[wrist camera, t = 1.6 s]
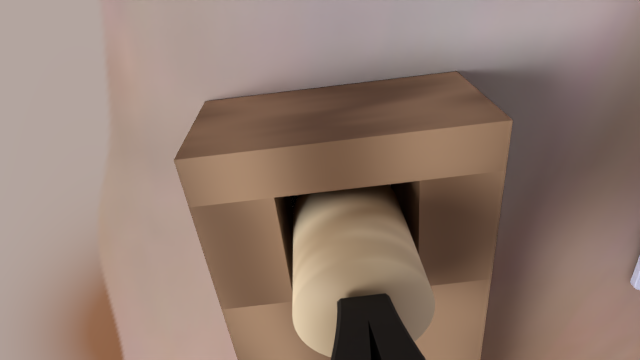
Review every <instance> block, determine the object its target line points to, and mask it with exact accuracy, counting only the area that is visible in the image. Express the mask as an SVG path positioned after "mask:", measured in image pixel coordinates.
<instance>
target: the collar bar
mask: <svg viewBox="0 0 640 360" xmlns="http://www.w3.org/2000/svg"><path fill="white" fill-rule="evenodd" d="M512 123H513V120H512V119H511V118H510V117H509V116H508V115H506V114H505V113H504V112H503V111H502V110H501V109H499V108H498V107H497V106H496V105H495V104H494V103H493V102H491V101H490V100H489V99H488V98H487V97H486V96H485V95H483V94H482V93H481V92H480V91H479V90H478V89H476V88H475V87H474V86H473V85H472V84H471V83H470V82H468V81H467V80H466V79H465V78H464V77H463V76H462V75H460V74H459V73H458V72H457V71H455V72H447V73H439V74H430V75H422V76H413V77H405V78H397V79H388V80H380V81H372V82H363V83H355V84H347V85H338V86H330V87H321V88H313V89H305V90H296V91H288V92H280V93H271V94H263V95H255V96H246V97H238V98H229V99H221V100H213V101H205V103H204V105H203V106H202V108H201V110H200V112H199V114H198V116H197V118H196V120H195V121H194V123H193V125H192V127H191V129H190V131H189V133H188V134H187V136H186V138H185V140H184V142H183V144H182V146H181V148H180V149H179V151H178V153H177V155H176V157H175V159H174V162H175V165H176V169H177V172H178V175H179V178H180V181H181V184H182V187H183V190H184V193H185V197H186V200H187V203H188V206H189V209H190V212H191V215H192V218H193V222H194V225H195V228H196V231H197V234H198V237H199V240H200V243H201V247H202V250H203V253H204V256H205V259H206V262H207V265H208V268H209V271H210V275H211V278H212V281H213V284H214V287H215V290H216V293H217V296H218V300H219V303H220V306H221V309H222V312H223V315H224V318H225V321H226V324H227V328H228V331H229V334H230V337H231V340H232V343H233V346H234V349H235V353H236V356H237V359H238V360H331V357H328V356H325V355H323V354H321V353H318V352H317V351H315V350H313V349H312V348H310V347H309V346H308V345H306V344H305V343H304V342H303V341H302V340H301V338H300V337H299V335H298V334H297V332H296V330H295V327H294V324H293V317H292V303H293V210H292V204H291V198H290V196H292V195H301V194H309V193H318V192H327V191H335V190H344V189H352V188H361V187H370V186H378V185H387V184H391V188H392V189H393V191H394V193H395V195H396V197H397V199H398V202H399V205H400V207H401V210H402V213H403V215H404V218H405V220H406V223H407V226H408V228H409V231H410V234H411V236H412V239H413V242H414V244H415V247H416V249H417V252H418V255H419V257H420V260H421V263H422V265H423V268H424V271H425V273H426V276H427V279H428V281H429V284H430V286H431V289H432V292H433V295H434V299H435V311H434V315H433V318H432V321H431V323H430V325H429V326H428V328H427V329H426V331H425V332H424V333H423V334H422V335H421V336H420V337H419V338H418V339H417V340H416V341H415V344H416V345H417V347H418V348H419V350H420V351H421V353H422V354H423V356H424V357H425V359H426V360H480V358H481V351H482V344H483V336H484V329H485V322H486V314H487V307H488V299H489V292H490V285H491V277H492V270H493V263H494V255H495V248H496V241H497V233H498V226H499V219H500V211H501V204H502V196H503V189H504V182H505V174H506V167H507V160H508V152H509V145H510V138H511V130H512Z"/></svg>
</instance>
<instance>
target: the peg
mask: <svg viewBox="0 0 640 360" xmlns="http://www.w3.org/2000/svg"><path fill="white" fill-rule="evenodd" d="M384 293H386V294H387V295H389V296H390V298H391V301H392V303H393V305H394V307H395V309H396V311H397V313H398V315H399V317H400V319H401V320H402V322H403V324H404V326H405V327H406V329H407V331H408V333H409V334H410V336H411V337H412V339H413V341H414V342H415V341H416V340H417V339H418V338H419V337H420V336H421V335H422V334H423V333H424V332H425V331H426V329H427V328H428V326H429V325H430V323H431V321H432V318H433V315H434V311H435V299H434V295H433V292H432V289H431V286H430V284H429V281H428V279H427V276H426V273H425V271H424V268H423V265H422V263H421V260H420V257H419V255H418V252H417V249H416V247H415V244H414V242H413V239H412V236H411V234H410V231H409V228H408V226H407V223H406V220H405V218H404V215H403V213H402V210H401V207H400V205H399V202H398V199H397V197H396V195H395V193H394V191H393V189H392V188H391V187H390V186H389V185H388V184H387V185H378V186H370V187H361V188H352V189H344V190H335V191H327V192H318V193H309V194H301V195H299V197H298V199H297V201H296V203H295V207H294V214H293V303H292V317H293V324H294V327H295V330H296V332H297V334H298V335H299V337H300V338H301V340H302V341H303V342H304V343H305V344H306V345H308V346H309V347H310V348H312V349H313V350H315V351H317V352H318V353H321V354H323V355H325V356H328V357H331V355H332V350H333V345H334V339H335V332H336V323H337V301H338V300H339V299H341V298H348V297H357V296H366V295H375V294H384Z"/></svg>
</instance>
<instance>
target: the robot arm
mask: <svg viewBox="0 0 640 360" xmlns="http://www.w3.org/2000/svg"><path fill="white" fill-rule="evenodd" d="M630 283H631V284H632V286H633V287H634V288H635V289H637V290H640V256H639V259H638V262H637V264H636V267H635V270H634V273H633V275H632V278H631V282H630ZM331 360H426V359H425V357H424V356H423V354H422V353H421V351H420V350H419V348H418V347H417V345H416V344H415V342H414V341H413V339H412V337H411V336H410V334H409V333H408V331H407V329H406V327H405V326H404V324H403V322H402V320H401V319H400V317H399V315H398V313H397V311H396V309H395V307H394V305H393V303H392V301H391V298H390V296H389V295H387V294H386V293H384V294H375V295H366V296H357V297H348V298H341V299H339V300H338V301H337V323H336V332H335V339H334V345H333V350H332V355H331Z"/></svg>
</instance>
